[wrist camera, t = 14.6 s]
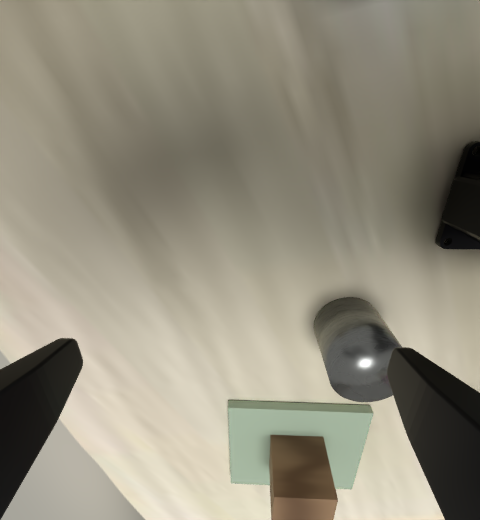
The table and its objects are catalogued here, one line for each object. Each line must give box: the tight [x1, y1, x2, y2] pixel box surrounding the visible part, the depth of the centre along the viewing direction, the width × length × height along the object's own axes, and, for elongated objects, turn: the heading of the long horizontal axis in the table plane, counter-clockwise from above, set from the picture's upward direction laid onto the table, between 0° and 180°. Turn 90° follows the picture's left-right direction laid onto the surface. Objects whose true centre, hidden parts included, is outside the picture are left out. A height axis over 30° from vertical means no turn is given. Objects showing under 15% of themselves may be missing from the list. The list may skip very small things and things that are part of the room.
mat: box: [228, 400, 373, 489], centre depth 28 cm, size 13×12×1 cm
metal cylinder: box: [314, 297, 402, 402], centre depth 19 cm, size 5×5×5 cm
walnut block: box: [269, 435, 338, 520], centre depth 25 cm, size 5×5×5 cm
